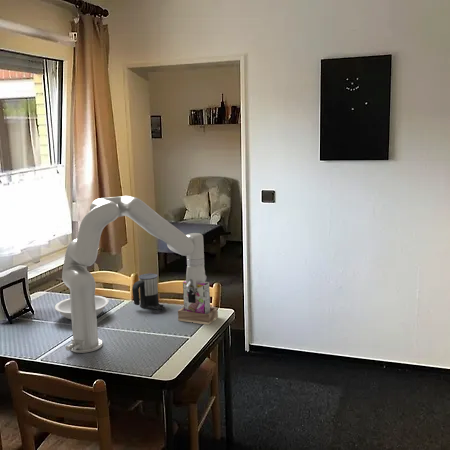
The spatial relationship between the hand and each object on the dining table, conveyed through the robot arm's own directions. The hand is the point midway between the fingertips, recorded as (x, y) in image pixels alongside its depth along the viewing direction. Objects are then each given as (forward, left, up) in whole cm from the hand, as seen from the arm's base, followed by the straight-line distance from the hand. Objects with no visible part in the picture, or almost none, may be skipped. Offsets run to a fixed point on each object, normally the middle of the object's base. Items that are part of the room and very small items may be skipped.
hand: (197, 299), depth 235 cm
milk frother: (+6, +27, -10) cm, 29 cm away
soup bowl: (-16, +51, -10) cm, 54 cm away
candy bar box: (0, 0, -8) cm, 9 cm away
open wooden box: (0, 0, -9) cm, 9 cm away
